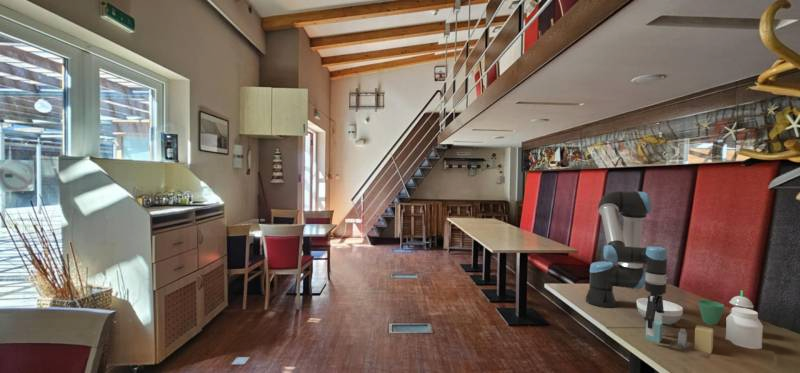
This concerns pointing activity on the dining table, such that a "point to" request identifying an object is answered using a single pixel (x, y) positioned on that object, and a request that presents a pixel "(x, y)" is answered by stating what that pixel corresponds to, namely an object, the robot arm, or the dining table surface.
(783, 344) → the dining table surface
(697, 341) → the pale yellow block
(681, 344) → the post
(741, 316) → the jar
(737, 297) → the smoothie
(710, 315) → the mug
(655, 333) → the teal rectangular block
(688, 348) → the board
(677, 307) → the bowl
